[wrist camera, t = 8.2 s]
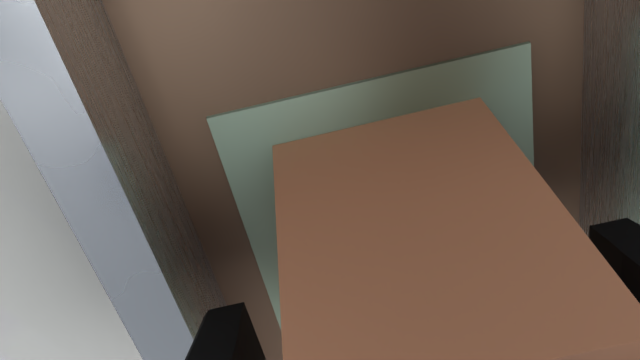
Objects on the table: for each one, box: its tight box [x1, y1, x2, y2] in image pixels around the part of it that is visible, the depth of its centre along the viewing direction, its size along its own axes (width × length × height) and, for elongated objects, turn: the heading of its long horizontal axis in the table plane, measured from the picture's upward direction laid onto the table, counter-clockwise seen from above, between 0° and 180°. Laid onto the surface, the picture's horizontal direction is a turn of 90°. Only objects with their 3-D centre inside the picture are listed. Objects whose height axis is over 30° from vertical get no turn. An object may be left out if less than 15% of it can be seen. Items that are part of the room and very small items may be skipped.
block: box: [272, 97, 640, 360], centre depth 10 cm, size 4×4×6 cm
